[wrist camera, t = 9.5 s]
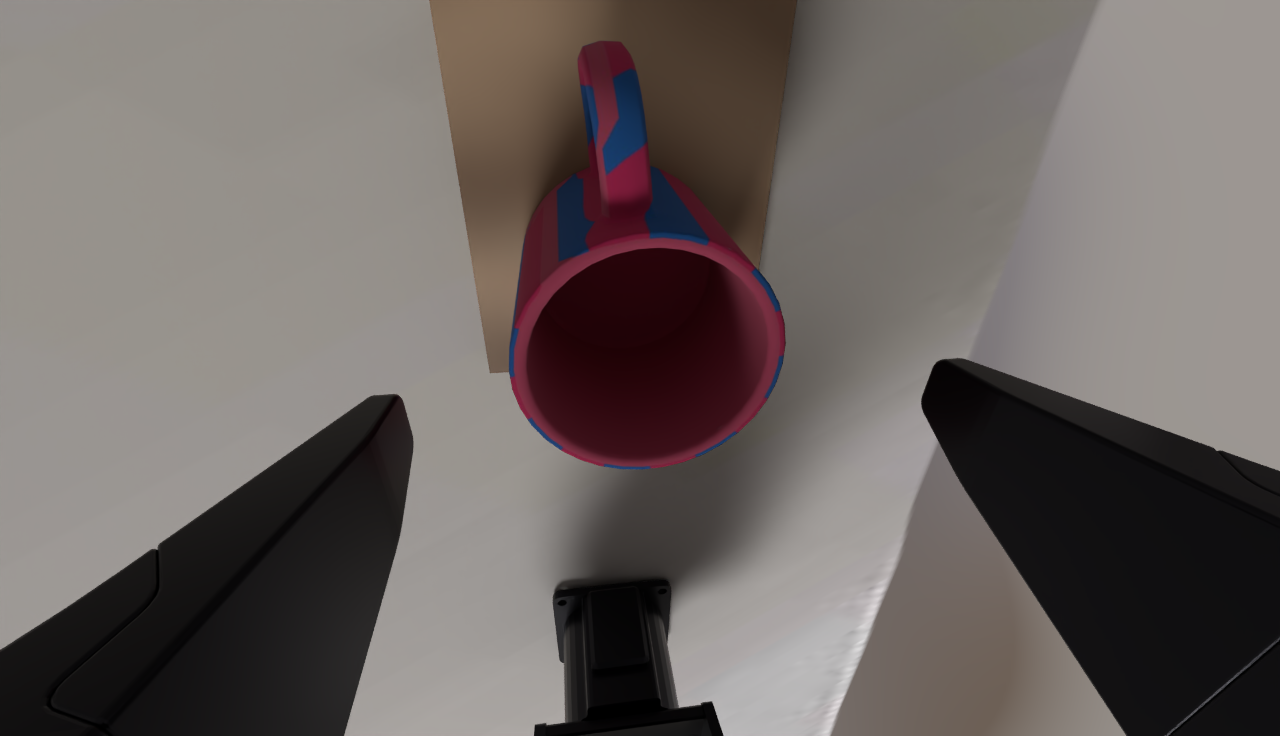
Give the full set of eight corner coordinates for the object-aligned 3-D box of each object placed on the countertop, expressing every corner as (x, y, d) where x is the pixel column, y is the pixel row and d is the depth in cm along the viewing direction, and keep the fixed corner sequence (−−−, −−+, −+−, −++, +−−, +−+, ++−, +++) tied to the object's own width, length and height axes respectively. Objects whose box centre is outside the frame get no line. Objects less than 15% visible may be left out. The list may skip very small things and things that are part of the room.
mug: (533, 351, 20) (525, 481, 14) (495, 36, 15) (459, 44, 9) (708, 340, 21) (766, 459, 15) (734, 37, 15) (840, 45, 10)
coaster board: (738, 345, 22) (745, 357, 21) (492, 359, 21) (490, 373, 20) (785, -7, 16) (798, -9, 15) (433, -16, 15) (426, -19, 14)
